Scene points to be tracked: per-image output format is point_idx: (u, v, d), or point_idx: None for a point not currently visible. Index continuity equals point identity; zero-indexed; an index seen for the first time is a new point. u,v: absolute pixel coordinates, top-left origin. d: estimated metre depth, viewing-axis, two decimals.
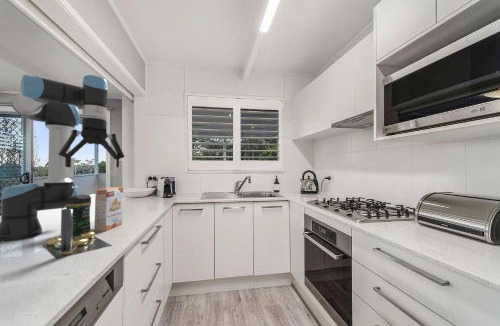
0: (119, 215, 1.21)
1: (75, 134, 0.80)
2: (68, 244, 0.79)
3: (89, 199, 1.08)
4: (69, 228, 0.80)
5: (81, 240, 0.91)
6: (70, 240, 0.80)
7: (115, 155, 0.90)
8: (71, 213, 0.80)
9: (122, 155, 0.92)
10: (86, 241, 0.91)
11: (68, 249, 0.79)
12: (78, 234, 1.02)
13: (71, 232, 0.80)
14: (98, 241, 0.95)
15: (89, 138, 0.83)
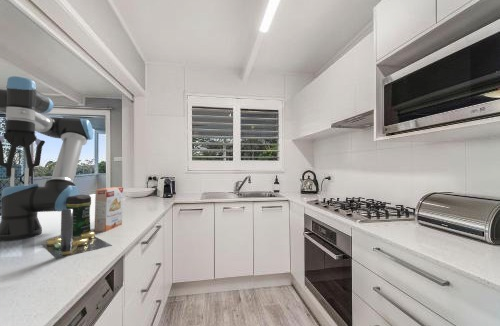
0: (119, 215, 1.21)
1: None
2: (68, 244, 0.79)
3: (89, 199, 1.08)
4: (69, 228, 0.80)
5: (81, 240, 0.91)
6: (70, 240, 0.80)
7: (29, 162, 0.85)
8: (71, 213, 0.80)
9: (37, 163, 0.86)
10: (86, 241, 0.91)
11: (68, 249, 0.79)
12: (78, 234, 1.02)
13: (71, 232, 0.80)
14: (98, 241, 0.95)
15: (15, 142, 0.82)
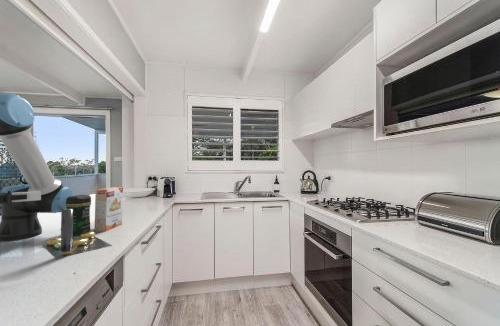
0: (119, 215, 1.21)
1: None
2: (68, 244, 0.79)
3: (89, 199, 1.08)
4: (69, 228, 0.80)
5: (81, 240, 0.91)
6: (70, 240, 0.80)
7: None
8: (71, 213, 0.80)
9: (4, 203, 0.66)
10: (86, 241, 0.91)
11: (68, 249, 0.79)
12: (78, 234, 1.02)
13: (71, 232, 0.80)
14: (98, 241, 0.95)
15: None
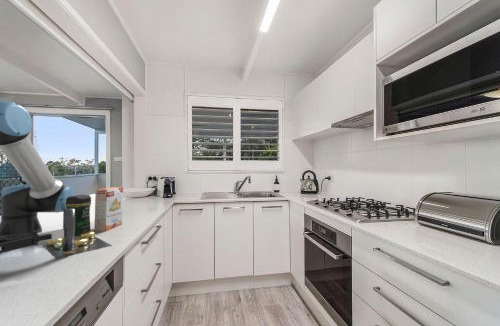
0: (119, 215, 1.21)
1: None
2: (70, 244, 0.79)
3: (89, 199, 1.08)
4: (72, 228, 0.80)
5: (81, 240, 0.91)
6: (72, 240, 0.80)
7: None
8: (73, 213, 0.80)
9: None
10: (86, 241, 0.91)
11: (70, 249, 0.79)
12: (78, 234, 1.02)
13: (73, 232, 0.80)
14: (98, 241, 0.95)
15: None
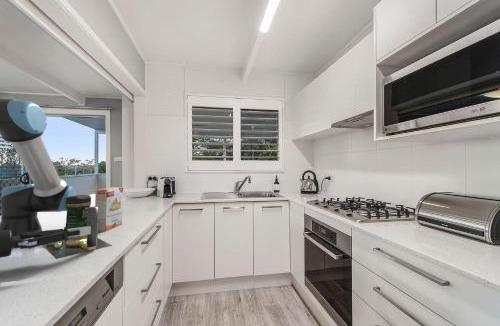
0: (119, 215, 1.21)
1: None
2: (96, 239, 0.85)
3: (89, 199, 1.08)
4: (97, 224, 0.85)
5: (83, 239, 0.92)
6: (97, 235, 0.85)
7: None
8: (97, 210, 0.86)
9: None
10: None
11: (96, 244, 0.85)
12: None
13: (97, 228, 0.86)
14: (98, 241, 0.95)
15: None
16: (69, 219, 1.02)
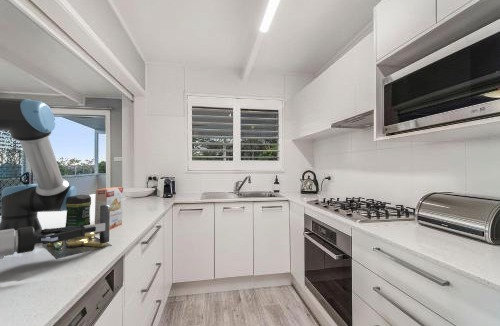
0: (119, 215, 1.21)
1: None
2: None
3: (89, 199, 1.08)
4: (109, 221, 0.90)
5: (84, 238, 0.92)
6: None
7: None
8: None
9: None
10: None
11: None
12: None
13: None
14: (98, 241, 0.95)
15: None
16: (69, 219, 1.02)
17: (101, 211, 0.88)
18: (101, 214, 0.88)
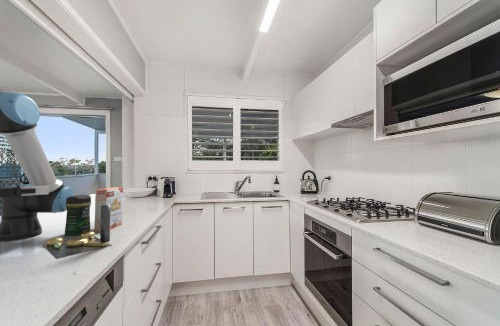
0: (119, 215, 1.21)
1: None
2: (109, 235, 0.90)
3: (89, 199, 1.08)
4: None
5: (84, 238, 0.93)
6: None
7: None
8: None
9: (14, 196, 0.68)
10: None
11: (109, 239, 0.90)
12: (78, 234, 1.02)
13: None
14: None
15: None
16: (69, 219, 1.02)
17: (102, 211, 0.88)
18: (102, 214, 0.88)
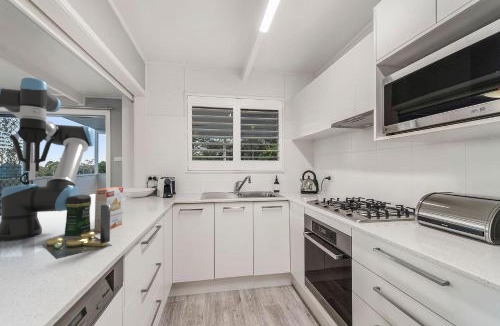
0: (119, 215, 1.21)
1: (15, 139, 0.85)
2: (109, 235, 0.90)
3: (89, 199, 1.08)
4: None
5: (84, 238, 0.93)
6: None
7: (36, 158, 0.90)
8: None
9: (43, 159, 0.92)
10: None
11: (109, 239, 0.90)
12: (78, 234, 1.02)
13: None
14: None
15: (29, 138, 0.88)
16: (69, 219, 1.02)
17: (102, 211, 0.88)
18: (102, 214, 0.88)
